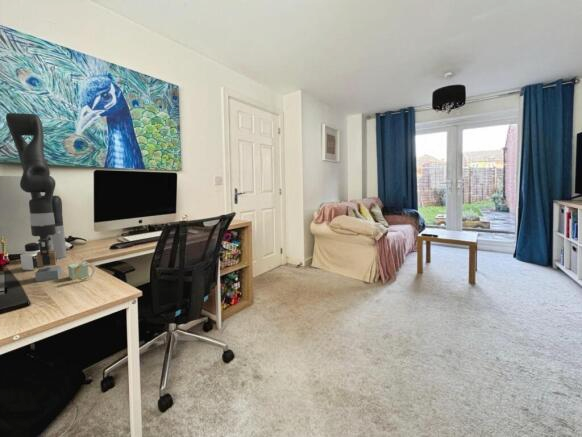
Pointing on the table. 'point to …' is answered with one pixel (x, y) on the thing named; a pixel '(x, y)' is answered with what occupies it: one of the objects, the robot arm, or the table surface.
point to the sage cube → (80, 273)
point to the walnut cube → (52, 256)
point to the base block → (48, 273)
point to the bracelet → (80, 267)
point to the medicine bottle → (30, 257)
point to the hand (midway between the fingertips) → (47, 262)
